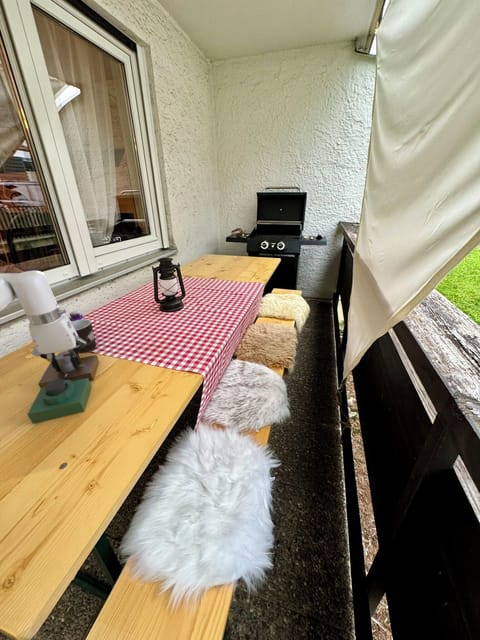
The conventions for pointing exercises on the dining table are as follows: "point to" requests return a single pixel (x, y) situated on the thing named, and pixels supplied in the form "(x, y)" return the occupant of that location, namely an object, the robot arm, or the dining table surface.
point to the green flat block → (61, 402)
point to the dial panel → (82, 372)
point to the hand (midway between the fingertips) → (68, 366)
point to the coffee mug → (85, 334)
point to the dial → (65, 361)
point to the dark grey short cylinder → (56, 387)
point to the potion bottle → (75, 316)
